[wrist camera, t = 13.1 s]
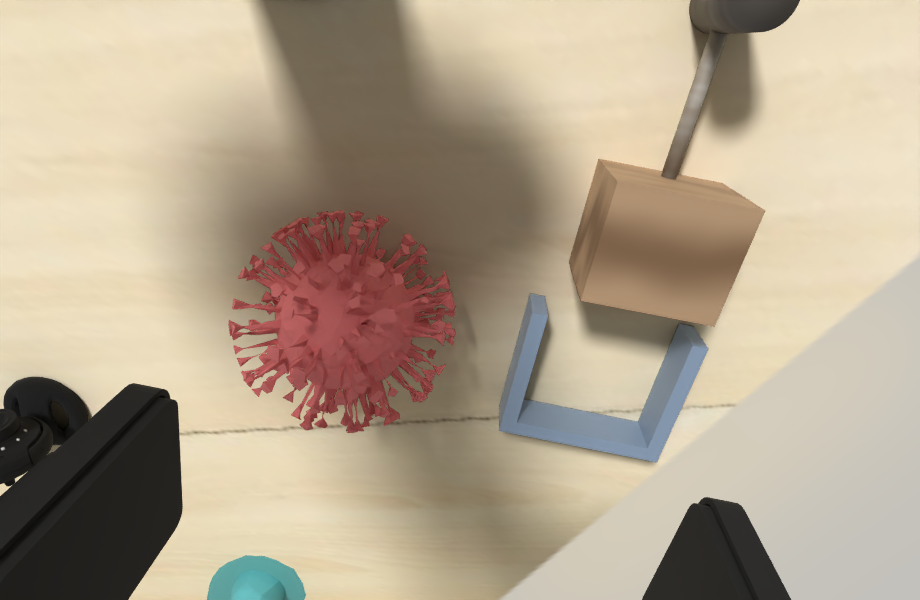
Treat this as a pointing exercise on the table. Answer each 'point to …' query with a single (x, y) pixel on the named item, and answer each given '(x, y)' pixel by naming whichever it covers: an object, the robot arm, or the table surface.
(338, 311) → the virus model
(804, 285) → the table surface
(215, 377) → the table surface
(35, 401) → the webcam
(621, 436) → the blue-grey u-shaped piece
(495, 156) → the table surface
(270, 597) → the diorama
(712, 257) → the tether block
